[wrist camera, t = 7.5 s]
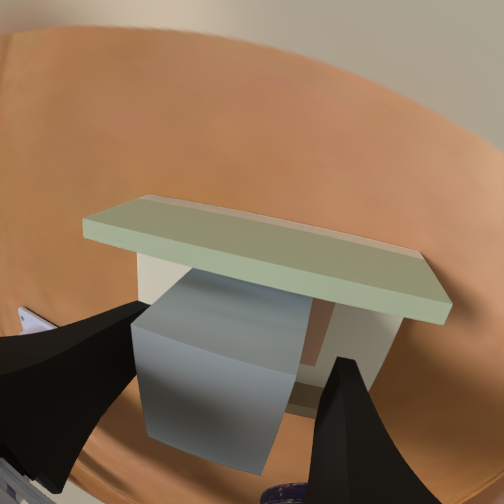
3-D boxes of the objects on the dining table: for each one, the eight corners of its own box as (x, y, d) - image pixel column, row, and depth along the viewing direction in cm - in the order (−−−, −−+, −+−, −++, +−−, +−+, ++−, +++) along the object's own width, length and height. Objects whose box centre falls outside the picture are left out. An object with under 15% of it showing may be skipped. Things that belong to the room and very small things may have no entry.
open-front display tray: (361, 391, 14) (359, 460, 10) (150, 333, 17) (105, 382, 13) (418, 251, 11) (452, 304, 7) (149, 193, 14) (82, 218, 10)
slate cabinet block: (292, 365, 13) (260, 475, 8) (209, 342, 14) (148, 436, 9) (318, 267, 12) (296, 375, 6) (218, 244, 12) (130, 324, 7)
